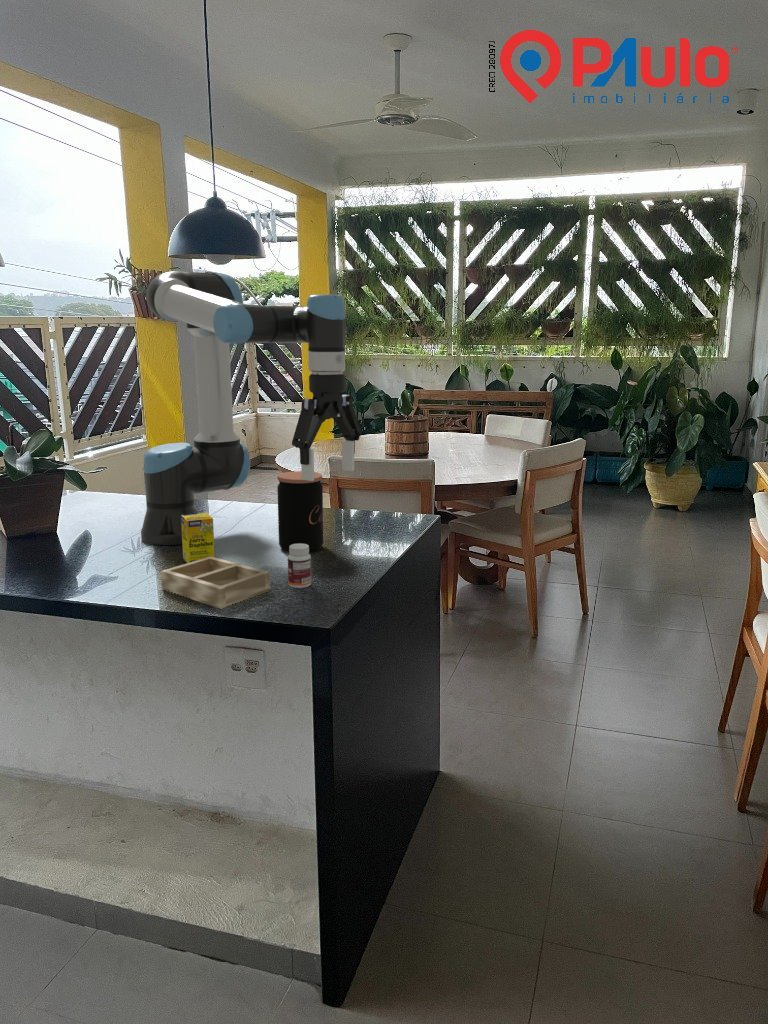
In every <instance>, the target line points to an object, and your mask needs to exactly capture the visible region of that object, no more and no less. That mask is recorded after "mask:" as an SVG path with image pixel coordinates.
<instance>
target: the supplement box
mask: <svg viewBox="0 0 768 1024" xmlns="http://www.w3.org/2000/svg"><path fill="white" fill-rule="evenodd" d="M181 525H182V544H181V546H182V561H183V562H184V564H186V563H190V562H193V561H197V560H200V559H203V558H207V557H210V556H211V557H215V556H216V555H215V533H214V519H213V517H212V516H211V515H210V514H209V513H208V512H202V513H197V514H191V515H181ZM215 558H216V557H215Z"/></svg>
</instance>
